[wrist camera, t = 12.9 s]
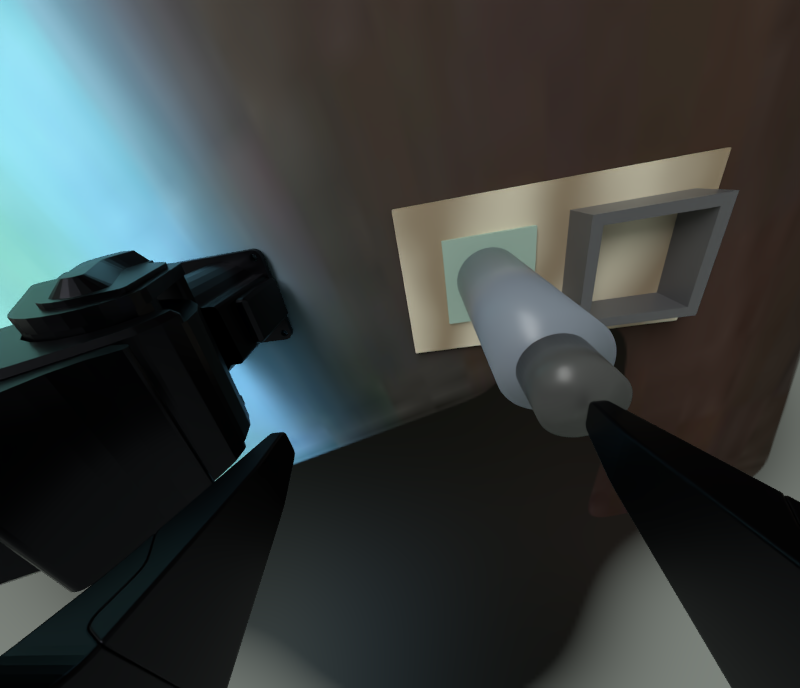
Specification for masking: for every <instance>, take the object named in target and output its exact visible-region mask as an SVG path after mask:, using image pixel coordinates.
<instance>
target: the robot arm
mask: <svg viewBox="0 0 800 688" xmlns="http://www.w3.org/2000/svg"><path fill="white" fill-rule="evenodd" d="M252 254H254V255H256V256H257V260H255V259H253V257H252ZM287 314H288V311H287V309H286V306H285V304H284V301H283V298H282V296H281V293H280V291H279V288H278V285H277V283H276V281H275V280H274V279H273V278H272V276H271V273H270V271H269V268H268V266H267V263H266V261H265V258H264V256H263V254H262V252H261V251H260V250H258V249H249V250H243V251H238V252H232V253H226V254H221V255H215V256H210V257H204V258H199V259H193V260H188V261H182V262H177V263H169V264H166V262H155V263H154V262H153V261H152V260H151V261H149V260H148V259H146V258H145V257H143V256H142V255H140V254H138V253H137V252H135V251H134V250H133V251H123V252H118V253H114V254H110V255H107V256H103V257H99V258H96V259H92V260H89V261H86V262H83V263H81V264H79V265H78V266H76V267H75V268H73V269H72V270H70V271H69V272H66V273H63V274H62V275H61V276H59V277H58V278H57V279H54V280H50V281H46V282H42V283H38V284H35V285H32V286H31V287H30V288H29V289H28V290H27V291H26V293H25V294H24V295H23V296H22V298H21V299H20V300H19V301H18V302H17V304H16V305H15V306H14V307H13V308H12V310H11V311H10V312H9V313H8V315H7V318H8V319H9V320H10V321H11V322H12V324H13V325H11V326H8V327H4V328H1V329H0V585H2V584H5V583H8V582H11V581H14V580H17V579H20V578H23V577H26V576H29V575H32V574H35V573H38V572H41V571H42V572H43V573H45V574H46V575H48V576H49V577H50V578H52V579H53V580H55V581H56V582H57V583H59V584H60V585H62V586H63V587H64V588H66V589H67V590H69V591H70V592H77V591H81V590H83V589H85V588H87V587H89V586H90V585H91V586H90V587H89V588H88V589H86V590H85V591H84V592H82V593H81V594H80V595H79V596H77V597H76V598H75V599H74V600H72V601H71V602H70V603H68V604H67V605H66V606H64V607H63V608H62V609H61V610H59V611H58V612H57V613H55V614H54V615H53V616H52V617H50V618H49V619H48V620H47V621H45V622H44V623H43V624H41V625H40V626H39V627H38V628H36V629H35V630H34V631H32V632H31V633H30V634H29V635H27V636H26V637H25V638H23V639H22V640H21V641H20V642H18V643H17V644H16V645H15V646H13V647H12V648H10V649H9V650H8V651H6V652H5V653H4V654H2V655H1V656H0V688H227V687H228V684H229V681H230V677H231V674H232V671H233V667H234V665H235V662H236V658H237V655H238V652H239V649H240V646H241V642H242V639H243V636H244V633H245V630H246V626H247V623H248V620H249V617H250V614H251V611H252V607H253V604H254V601H255V598H256V595H257V591H258V588H259V585H260V582H261V579H262V576H263V572H264V569H265V566H266V563H267V560H268V556H269V553H270V550H271V547H272V544H273V541H274V537H275V534H276V531H277V528H278V525H279V521H280V518H281V515H282V512H283V508H284V505H285V500H286V496H287V491H288V486H289V481H290V477H291V472H292V467H293V462H294V457H295V452H294V449H293V447H292V445H291V443H290V441H289V439H288V437H287V435H286V434H285V433H284V432H279V433H272V434H270V435H269V436H267V437H266V438H265V439H264V440H263V441H262V442H260V443H259V444H258V445H257V446H256V447H255V448H253V449H252V450H251V451H250V452H249V453H248V454H246V455H245V456H244V457H243V458H242V459H241V460H239V461H238V462H237V463H236V464H235V465H234V466H232V467H231V468H230V469H229V470H228V471H227V472H225V471H226V470H227V469H228V468H229V467H230V466H231V465H232V464H233V463H234V462H235V461H236V460H237V459H238V457H239V456H240V455H241V453H242V452H243V451H244V450H245V448H246V444H245V442H244V441H245V439H246V436H247V433H248V430H249V427H250V420H249V414H248V412H247V410H246V407H245V403H244V400H243V398H242V396H241V395H240V394H239V392H238V390H237V388H236V386H235V384H234V381H233V379H232V377H231V375H230V373H229V371H230V370H231V369H232V368H233V367H234V366H235V365H236V364H241V363H242V362H243V361H244V360H245V359H246V358H247V357H248V356H249V355H250V354H251V352H252V351H253V350H254V349H255V348H256V347H257V346H258V345H259V344H260V343H262V342H269V341H277V340H284V339H288V338H290V337H291V335H292V334H293V330H292V327H291V325H290V322H289V319H288V317H287ZM283 330H285V331H287V333H288V334H286V333H284V332H283ZM586 429H587V432H588V434H589V437H590V439H591V441H592V443H593V445H594V448H595V450H596V452H597V454H598V456H599V458H600V461H601V463H602V465H603V467H604V469H605V472H606V474H607V476H608V478H609V480H610V482H611V484H612V486H613V488H614V489H615V491H616V493H617V495H618V496H619V498H620V500H621V501H622V503H623V505H624V507H625V508H626V510H627V512H628V513H629V515H630V517H631V518H632V520H633V522H634V523H635V525H636V527H637V528H638V530H639V532H640V534H641V535H642V537H643V539H644V540H645V542H646V544H647V545H648V547H649V549H650V550H651V552H652V554H653V556H654V557H655V559H656V561H657V562H658V564H659V566H660V567H661V569H662V571H663V573H664V574H665V576H666V578H667V579H668V581H669V583H670V584H671V586H672V588H673V589H674V591H675V593H676V595H677V596H678V598H679V600H680V601H681V603H682V605H683V607H684V608H685V610H686V611H687V613H688V615H689V617H690V618H691V620H692V622H693V623H694V625H695V627H696V629H697V630H698V632H699V634H700V635H701V637H702V639H703V640H704V642H705V644H706V645H707V647H708V649H709V650H710V652H711V654H712V655H713V657H714V659H715V661H716V662H717V664H718V666H719V668H720V669H721V671H722V673H723V674H724V676H725V678H726V679H727V681H728V683H729V684H730V686H731V688H800V502H799V501H797V500H795V499H793V498H791V497H789V496H784V495H783V493H781V492H780V491H778V490H776V489H774V488H772V487H770V486H768V485H767V484H764V483H763V482H761V481H759V480H757V479H755V478H753V477H751V476H750V475H748V474H746V473H744V472H742V471H740V470H738V469H736V468H734V467H733V466H731V465H729V464H727V463H725V462H723V461H721V460H719V459H718V458H716V457H714V456H712V455H710V454H708V453H706V452H704V451H702V450H701V449H699V448H697V447H695V446H693V445H691V444H689V443H687V442H685V441H684V440H682V439H680V438H678V437H676V436H674V435H672V434H670V433H669V432H667V431H665V430H663V429H661V428H659V427H657V426H655V425H653V424H652V423H650V422H648V421H646V420H644V419H642V418H640V417H638V416H636V415H635V414H633V413H631V412H629V411H627V410H625V409H623V408H621V407H620V406H618V405H616V404H614V403H612V402H610V401H607V400H601V401H592V402H591V403H590V404H589V407H588V413H587V418H586ZM224 472H225V473H224ZM223 473H224V474H223ZM222 474H223V475H222ZM221 475H222V476H221ZM220 476H221V477H220ZM218 477H220V478H218ZM217 478H218V479H217ZM216 479H217V480H216ZM215 480H216V481H215ZM92 584H93V585H92Z"/></svg>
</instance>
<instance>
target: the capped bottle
mask: <svg viewBox="0 0 800 688" xmlns="http://www.w3.org/2000/svg"><path fill="white" fill-rule="evenodd" d="M457 286H458V290H459V293H460V295H461V298H462V300H463V303H464V305H465V307H466V310H467V312H468V315H469V317H470V320H471V322H472V324H473V327H474V329H475V332H476V334H477V336H478V339H479V341H480V344H481V346H482V348H483V351H484V353H485V356H486V358H487V360H488V363H489V365H490V368H491V370H492V373H493V375H494V377H495V380H496V382H497V385H498V387H499V389H500V390H501V392H502V393H503V395H504V396H505V397H506V398H507V399H509V400H510V401H511V402H513V403H515V404H516V405H519V406H521V407H524V408H528V409H533V411H534V413H535V415H536V417H537V419H538V421H539V422H540V424H541V425H542V427H543V428H544V429H546V430H547V431H549V432H550V433H553V434H555V435H558V436H563V437H581V436H587V435H589V434H588V432H587V429H586V418H587V413H588V407H589V404H590V403H591V402H592V401H601V400H607V401H610V402H612V403H614V404H616V405H618V406H620V407H621V408H623V409H625V410H627V409H628V407H629V406H630V403H631V400H632V387H631V384H630V382H629V381H628V379H627V378H626V377H625V376H624V375H622V374H621V373H620V372H619V371H618V370H617V369H616V368H615V367H614V363H615V359H616V343H615V340H614V337H613V335H612V333H611V332H610V330H609V329H608V328H607V327H606V326H605V325H604V324H603V323H601V322H600V321H599V320H598V319H596V318H595V317H594V316H592V315H591V314H590V313H588V312H587V311H586V310H584V309H583V308H582V307H581V306H579V305H578V304H577V303H575V302H574V301H573V300H571V299H570V298H569V297H568V296H566V295H565V294H564V293H562V292H561V291H560V290H558V289H557V288H556V287H554V286H553V285H552V284H551V283H549V282H548V281H547V280H545V279H544V278H543V277H541V276H540V275H539V274H538V273H536V272H535V271H534V270H532V269H531V268H530V267H528V266H527V265H526V264H524V263H523V262H522V261H521V260H519V259H518V258H517V257H515V256H514V255H513V254H511V253H510V252H509V251H507V250H505V249H502V248H497V247H490V248H484V249H481V250H479V251H477V252H475V253H473V254H472V255H471V256H469V257H468V258H467V259H466V260H465V262H464V263H463V264H462V266H461V268H460V270H459V273H458V278H457Z"/></svg>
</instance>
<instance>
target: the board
mask: <svg viewBox="0 0 800 688" xmlns="http://www.w3.org/2000/svg"><path fill="white" fill-rule="evenodd" d="M730 150H731V147H730V148H722V149H716V150H711V151H706V152H700V153H695V154H689V155H684V156H679V157H673V158H668V159H662V160H657V161H652V162H646V163H641V164H636V165H630V166H625V167H619V168H614V169H609V170H603V171H598V172H592V173H587V174H582V175H576V176H571V177H566V178H560V179H555V180H549V181H544V182H539V183H533V184H528V185H522V186H517V187H512V188H506V189H501V190H495V191H490V192H485V193H479V194H474V195H469V196H463V197H458V198H452V199H447V200H442V201H436V202H431V203H425V204H420V205H415V206H409V207H404V208H398V209H393V210H392V216H393V222H394V227H395V233H396V239H397V245H398V251H399V257H400V263H401V269H402V274H403V280H404V286H405V292H406V298H407V304H408V310H409V315H410V321H411V327H412V333H413V339H414V345H415V351H416V353H422V352H430V351H438V350H446V349H454V348H461V347H469V346H477V345H481V344H480V341H479V339H478V336H477V334H476V332H475V329H474V327H473V324H472V322H471V321H469V322H461V323H454V324H450V323H449V314H448V304H447V294H446V284H445V274H444V264H443V254H442V244H441V241H444V240H449V239H455V238H461V237H467V236H473V235H479V234H485V233H491V232H497V231H502V230H508V229H514V228H520V227H526V226H532V225H537V243H536V262H535V272H536V273H538V274H539V275H540V276H541V277H543V278H544V279H545V280H547V281H548V282H549V283H551V284H552V285H553V286H554V287H556V288H557V289H558V290H560V291H561V292H562V286H563V276H564V266H565V256H566V246H567V236H568V226H569V216H570V210H573V209H579V208H584V207H590V206H596V205H602V204H607V203H613V202H619V201H625V200H631V199H636V198H642V197H648V196H654V195H659V194H665V193H671V192H677V191H683V190H688V189H694V188H702V189H718V188H719V185H720V182H721V179H722V175H723V172H724V169H725V166H726V163H727V160H728V156H729V153H730ZM677 214H678V213H676V214H670V215H664V216H658V217H652V218H646V219H640V220H634V221H628V222H622V223H615V224H609V225H604V227H603V233H602V240H601V246H600V253H599V259H598V266H597V272H596V279H595V285H594V291H593V298H592V301H597V300H605V299H612V298H619V297H626V296H634V295H641V294H648V293H655V292H657V290H658V286H659V282H660V278H661V274H662V271H663V267H664V263H665V259H666V256H667V252H668V248H669V244H670V240H671V237H672V233H673V229H674V225H675V222H676V218H677ZM677 318H678V317H677ZM677 318H669V319H661V320H653V321H645V322H638V323H630V324H622V325H614V326H606V327H607V328H608V329H611V328H619V327H627V326H634V325H642V324H650V323H658V322H666V321H674V320H677Z"/></svg>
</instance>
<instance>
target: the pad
mask: <svg viewBox="0 0 800 688" xmlns="http://www.w3.org/2000/svg"><path fill="white" fill-rule="evenodd" d="M536 243H537V225H532V226H526V227H520V228H514V229H508V230H502V231H497V232H491V233H485V234H479V235H473V236H467V237H461V238H455V239H449V240H444V241H441V244H442V254H443V264H444V274H445V284H446V294H447V304H448V314H449V323H450V324H454V323H461V322H469V321H471V320H470V317H469V315H468V312H467V310H466V307H465V305H464V303H463V300H462V298H461V295H460V293H459V290H458V286H457V278H458V273H459V270H460V268H461V266H462V264H463V263H464V262H465V260H466V259H467V258H468V257H469V256H471V255H472V254H473V253H475V252H477V251H479V250H481V249H484V248H490V247H497V248H502V249H505V250H507V251H509V252H510V253H511V254H513V255H514V256H515V257H517V258H518V259H519V260H521V261H522V262H523V263H524V264H526V265H527V266H528V267H530V268H531V269H532V270H534V271H535V262H536Z"/></svg>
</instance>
